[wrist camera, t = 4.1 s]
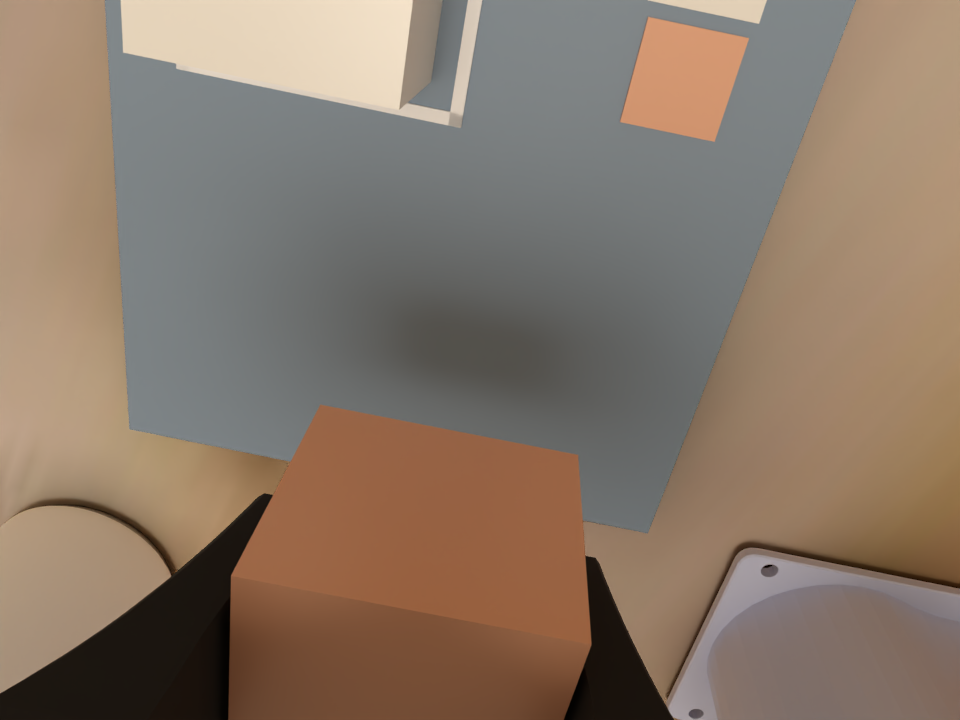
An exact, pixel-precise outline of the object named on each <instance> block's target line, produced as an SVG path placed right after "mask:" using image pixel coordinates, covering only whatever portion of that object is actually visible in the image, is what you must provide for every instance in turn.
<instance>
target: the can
mask: <svg viewBox="0 0 960 720" xmlns="http://www.w3.org/2000/svg"><path fill="white" fill-rule="evenodd" d="M170 577H171V573H170V570H169V567H168V565H167V563H166V561H165V559H164V558H163V556H162V555H161V553H160V552H159V551H158V549H157V548H156V547H155V546H154V545H153V544H152V543H151V542H150V541H149V540H148V539H147V538H146V537H145V536H144V535H143V534H142V533H140V532H139V531H138V530H136V529H135V528H134V527H132V526H131V525H129V524H127V523H126V522H124V521H122V520H120V519H118V518H116V517H114V516H112V515H109V514H107V513H104V512H101V511H98V510H95V509H91V508H87V507H81V506H73V505H56V506H43V507H36V508H32V509H29V510H26V511H23V512H21V513H19V514H17V515H15V516H13V517H12V518H10V519H9V520H8V521H7V522H5V523H4V524H3V525H2V526H1V527H0V693H1V692H3V691H5V690H7V689H8V688H10V687H12V686H13V685H15V684H17V683H19V682H20V681H22V680H24V679H25V678H27V677H29V676H30V675H32V674H33V673H35V672H37V671H38V670H40V669H42V668H43V667H45V666H46V665H48V664H50V663H51V662H53V661H55V660H56V659H58V658H59V657H61V656H63V655H64V654H66V653H67V652H69V651H70V650H72V649H73V648H75V647H76V646H78V645H79V644H81V643H82V642H84V641H85V640H87V639H88V638H90V637H91V636H93V635H94V634H96V633H97V632H99V631H100V630H101V629H103V628H104V627H106V626H107V625H109V624H110V623H111V622H113V621H114V620H116V619H117V618H118V617H120V616H121V615H122V614H124V613H125V612H126V611H128V610H129V609H130V608H132V607H133V606H134V605H136V604H137V603H138V602H139V601H141V600H142V599H143V598H145V597H146V596H147V595H148V594H150V593H151V592H152V591H154V590H155V589H156V588H157V587H159V586H160V585H161V584H162V583H164V582H165V581H166V580H168V579H169V578H170Z"/></svg>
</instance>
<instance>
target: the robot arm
mask: <svg viewBox="0 0 960 720" xmlns="http://www.w3.org/2000/svg"><path fill="white" fill-rule="evenodd" d="M272 496H273V495H270V494H263V495H261V496H259V497H258V498H257V499H256V500H255V501H254V502H253V503H252V504H251V505H250V506H249V507H248V508H247V509H246V510H244V511H243V512H242V513H241V514H240V515H239V516H238V517H237V518H236V519H235V520H234V521H233V522H232V523H231V524H230V525H229V526H228V527H227V528H226V529H225V530H224V531H223V532H221V533H220V534H219V535H218V536H217V537H216V538H215V539H214V540H213V541H212V542H211V543H209V544H208V545H207V546H206V547H205V548H204V549H203V550H201V551H200V552H199V553H198V554H197V555H196V556H195V557H193V558H192V559H191V560H190V561H189V562H188V563H186V564H185V565H184V566H183V567H182V568H181V569H179V570H178V571H177V572H176V573H175V574H174V575H172V576H171V577H170V578H169V579H168V580H166V581H165V582H164V583H162V584H161V585H160V586H159V587H157V588H156V589H155V590H154V591H152V592H151V593H150V594H148V595H147V596H146V597H145V598H143V599H142V600H141V601H139V602H138V603H137V604H136V605H134V606H133V607H132V608H130V609H129V610H128V611H126V612H125V613H124V614H122V615H121V616H120V617H118V618H117V619H116V620H114V621H113V622H111V623H110V624H109V625H107V626H106V627H104V628H103V629H101V630H100V631H99V632H97V633H96V634H94V635H93V636H91V637H90V638H88V639H87V640H85V641H84V642H82V643H81V644H79V645H78V646H76V647H75V648H73V649H72V650H70V651H69V652H67V653H66V654H64V655H63V656H61V657H59V658H58V659H56V660H55V661H53V662H51V663H50V664H48V665H46V666H45V667H43V668H42V669H40V670H38V671H37V672H35V673H33V674H32V675H30V676H29V677H27V678H25V679H24V680H22V681H20V682H19V683H17V684H15V685H13V686H12V687H10V688H8V689H7V690H5V691H3V692H1V693H0V720H228V711H229V657H230V603H231V575H232V573H233V571H234V569H235V567H236V565H237V563H238V561H239V560H240V558H241V556H242V554H243V552H244V550H245V548H246V546H247V544H248V542H249V540H250V538H251V537H252V535H253V533H254V531H255V529H256V527H257V525H258V523H259V521H260V519H261V517H262V515H263V514H264V512H265V510H266V508H267V506H268V504H269V502H270V500H271V498H272ZM585 559H586V573H587V587H588V601H589V616H590V630H591V644H592V645H591V647H590V650H589V653H588V656H587V658H586V661H585V664H584V666H583V669H582V672H581V674H580V677H579V680H578V683H577V685H576V688H575V691H574V693H573V696H572V699H571V701H570V704H569V707H568V709H567V712H566V715H565V718H564V720H674V719H673V717H674V718H677V719H680V720H960V589H959V588H954V587H949V586H944V585H939V584H934V583H929V582H924V581H919V580H914V579H909V578H904V577H899V576H894V575H889V574H884V573H879V572H874V571H869V570H864V569H859V568H854V567H849V566H844V565H839V564H835V563H830V562H825V561H820V560H815V559H810V558H805V557H800V556H795V555H790V554H785V553H780V552H775V551H770V550H765V549H760V548H747V549H743V550H742V551H740V552H739V553H738V554H737V555H736V556H735V558H734V561H733V563H732V565H731V567H730V569H729V571H728V573H727V575H726V577H725V579H724V582H723V584H722V586H721V588H720V590H719V592H718V594H717V596H716V598H715V600H714V602H713V605H712V607H711V609H710V611H709V613H708V615H707V617H706V619H705V621H704V623H703V626H702V628H701V630H700V632H699V634H698V636H697V638H696V640H695V642H694V644H693V647H692V649H691V651H690V653H689V655H688V657H687V659H686V661H685V663H684V665H683V667H682V670H681V672H680V674H679V676H678V678H677V680H676V682H675V684H674V686H673V688H672V691H671V693H670V695H669V697H668V699H667V707H666V705H665V703H664V701H663V699H662V698H661V696H660V694H659V692H658V690H657V689H656V687H655V685H654V683H653V681H652V679H651V677H650V675H649V674H648V672H647V669H646V667H645V665H644V663H643V661H642V659H641V657H640V655H639V653H638V651H637V649H636V647H635V645H634V643H633V641H632V639H631V637H630V635H629V633H628V631H627V629H626V626H625V624H624V622H623V620H622V617H621V615H620V613H619V611H618V608H617V606H616V604H615V601H614V599H613V597H612V594H611V592H610V590H609V587H608V585H607V582H606V580H605V577H604V574H603V572H602V569H601V567H600V564H599V563H598V561H597V560H596V558H594V557H588V556H585ZM766 565H772V566H771V567H769V568H763V567H764V566H766Z"/></svg>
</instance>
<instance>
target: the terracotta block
mask: <svg viewBox="0 0 960 720" xmlns="http://www.w3.org/2000/svg"><path fill="white" fill-rule="evenodd" d="M591 645H592V644H591V630H590V616H589V601H588V587H587V573H586V559H585V545H584V531H583V517H582V503H581V489H580V475H579V460H578V455H576V454H571V453H566V452H561V451H556V450H551V449H545V448H540V447H535V446H530V445H525V444H520V443H515V442H510V441H504V440H499V439H494V438H489V437H484V436H479V435H474V434H469V433H463V432H458V431H453V430H448V429H443V428H438V427H433V426H428V425H422V424H417V423H412V422H407V421H402V420H397V419H392V418H387V417H381V416H376V415H371V414H366V413H361V412H356V411H351V410H346V409H340V408H335V407H330V406H325V405H320V406H319V408H318V410H317V412H316V414H315V416H314V418H313V420H312V422H311V423H310V425H309V427H308V429H307V431H306V433H305V435H304V437H303V439H302V441H301V443H300V445H299V446H298V448H297V450H296V452H295V454H294V456H293V458H292V460H291V462H290V464H289V466H288V468H287V469H286V471H285V473H284V475H283V477H282V479H281V481H280V483H279V485H278V487H277V489H276V491H275V492H274V494H273V496H272V498H271V500H270V502H269V504H268V506H267V508H266V510H265V512H264V514H263V515H262V517H261V519H260V521H259V523H258V525H257V527H256V529H255V531H254V533H253V535H252V537H251V538H250V540H249V542H248V544H247V546H246V548H245V550H244V552H243V554H242V556H241V558H240V560H239V561H238V563H237V565H236V567H235V569H234V571H233V573H232V575H231V603H230V657H229V711H228V720H564V718H565V715H566V712H567V709H568V707H569V704H570V701H571V699H572V696H573V693H574V691H575V688H576V685H577V683H578V680H579V677H580V674H581V672H582V669H583V666H584V664H585V661H586V658H587V656H588V653H589V650H590V647H591Z"/></svg>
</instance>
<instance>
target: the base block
mask: <svg viewBox="0 0 960 720" xmlns="http://www.w3.org/2000/svg"><path fill="white" fill-rule="evenodd" d="M442 1H443V0H121V18H122V39H123V53H128V54H133V55H137V56H142V57H147V58H152V59H157V60H161V61H166V62H171V63H176V64H181V65H185V66H190V67H195V68H200V69H205V70H209V71H214V72H219V73H224V74H229V75H233V76H238V77H243V78H248V79H253V80H257V81H262V82H267V83H272V84H277V85H281V86H286V87H291V88H296V89H301V90H305V91H310V92H315V93H320V94H325V95H329V96H334V97H339V98H344V99H348V100H353V101H358V102H363V103H368V104H372V105H377V106H382V107H387V108H392V109H396V110H400V109H401V108H402V107H403V106H404V105H405V104H406V103H408V102H409V101H410V100H411V99H412V98H413V97H414V96H416V95H417V94H418V93H419V92H420V91H421V90H422V89H423V88H425V87H426V86H427V85H428V84H429V83H430V82H431V78H432V71H433V64H434V57H435V50H436V43H437V36H438V29H439V22H440V15H441V8H442Z"/></svg>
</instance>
